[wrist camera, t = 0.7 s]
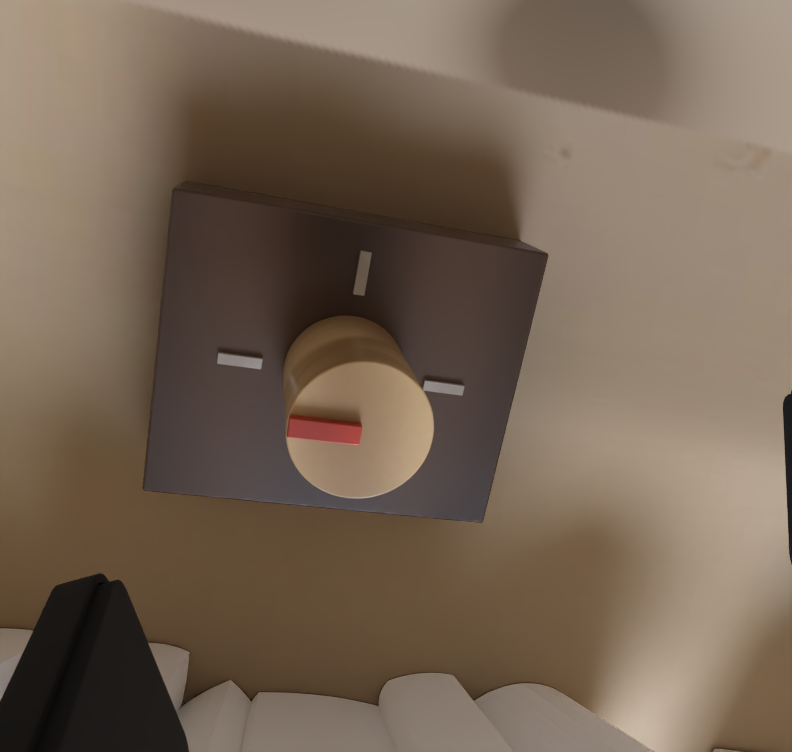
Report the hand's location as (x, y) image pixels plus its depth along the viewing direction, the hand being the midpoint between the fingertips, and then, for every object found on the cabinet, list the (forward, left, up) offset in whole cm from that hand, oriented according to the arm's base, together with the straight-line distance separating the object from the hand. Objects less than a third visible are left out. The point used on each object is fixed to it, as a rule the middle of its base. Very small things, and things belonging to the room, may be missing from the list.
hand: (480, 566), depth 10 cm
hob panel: (+2, +1, -18) cm, 18 cm away
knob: (+2, +1, -15) cm, 15 cm away
